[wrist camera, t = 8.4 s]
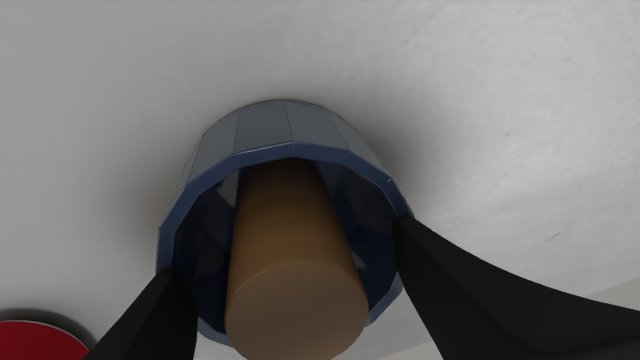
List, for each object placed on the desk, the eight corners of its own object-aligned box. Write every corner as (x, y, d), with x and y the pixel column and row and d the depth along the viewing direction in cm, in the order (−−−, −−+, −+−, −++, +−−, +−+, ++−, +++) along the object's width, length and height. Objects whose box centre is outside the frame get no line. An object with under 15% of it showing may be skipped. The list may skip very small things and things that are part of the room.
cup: (382, 247, 19) (420, 324, 15) (215, 285, 19) (203, 376, 14) (365, 80, 15) (409, 116, 11) (153, 122, 15) (109, 178, 10)
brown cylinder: (333, 225, 18) (375, 352, 11) (248, 244, 17) (245, 383, 11) (320, 147, 16) (361, 247, 10) (225, 167, 16) (204, 283, 9)
